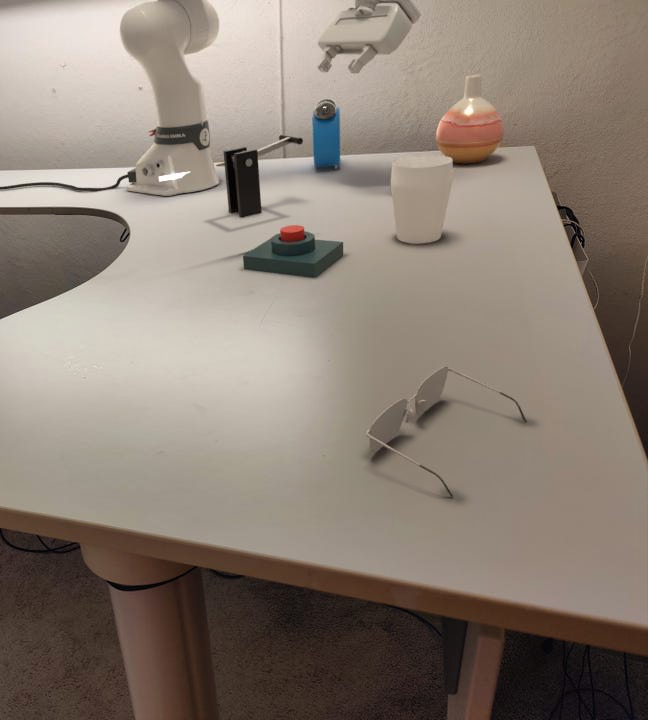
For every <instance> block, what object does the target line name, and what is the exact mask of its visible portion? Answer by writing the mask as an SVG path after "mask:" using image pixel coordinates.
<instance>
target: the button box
mask: <svg viewBox="0 0 648 720" xmlns="http://www.w3.org/2000/svg"><path fill="white" fill-rule="evenodd" d="M304 234H305V239H304V240H301V241H297V242H283V241H281V236H280V232H279V233H276V234H274V235H273V236H271V237H270V238H269V239H267V240H266V241H264V242H263V243H261V244H259V245H258V246H255V248H253V249H251V250H250V251H248V252H246V253H244V254H243V255H242V260H243V270H248V271H257V272H263V273H264V272H267V273H273V274H282V275H290V276H291V275H292V276H299V277H307V278H316V277H318V276H319V275H320V274H322V273H323V272H324V271H326V270H327V269H328V268H329V267H331V266H332V265H333V264H335V263H336V262H337V261H338V260H340V259H341V258H343V256H344V241H337V240H324V239H316V237H315V234H314V233H312V232H309V231H305V230H304Z"/></svg>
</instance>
